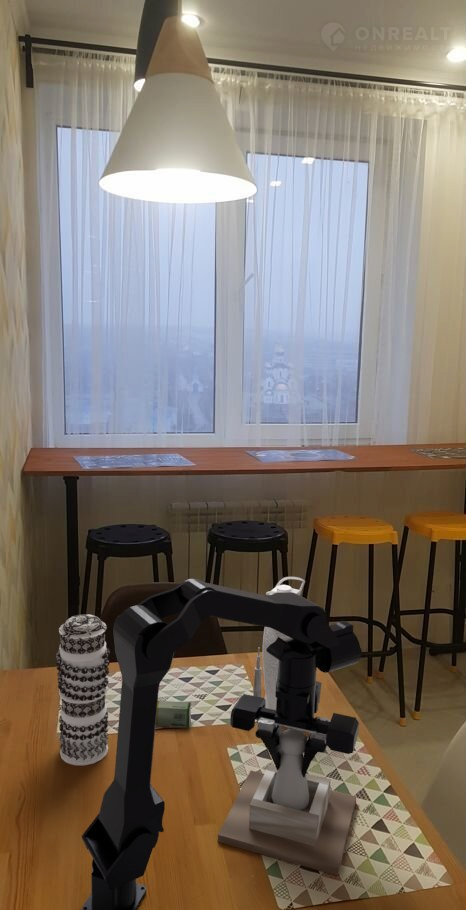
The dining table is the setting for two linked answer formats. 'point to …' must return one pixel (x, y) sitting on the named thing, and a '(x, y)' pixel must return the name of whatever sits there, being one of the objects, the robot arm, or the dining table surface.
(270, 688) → the skyscraper
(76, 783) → the dining table surface
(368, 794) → the dining table surface
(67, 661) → the decorative candle
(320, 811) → the socket board
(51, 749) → the dining table surface
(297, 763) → the salt shaker
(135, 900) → the robot arm
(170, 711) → the medication box
